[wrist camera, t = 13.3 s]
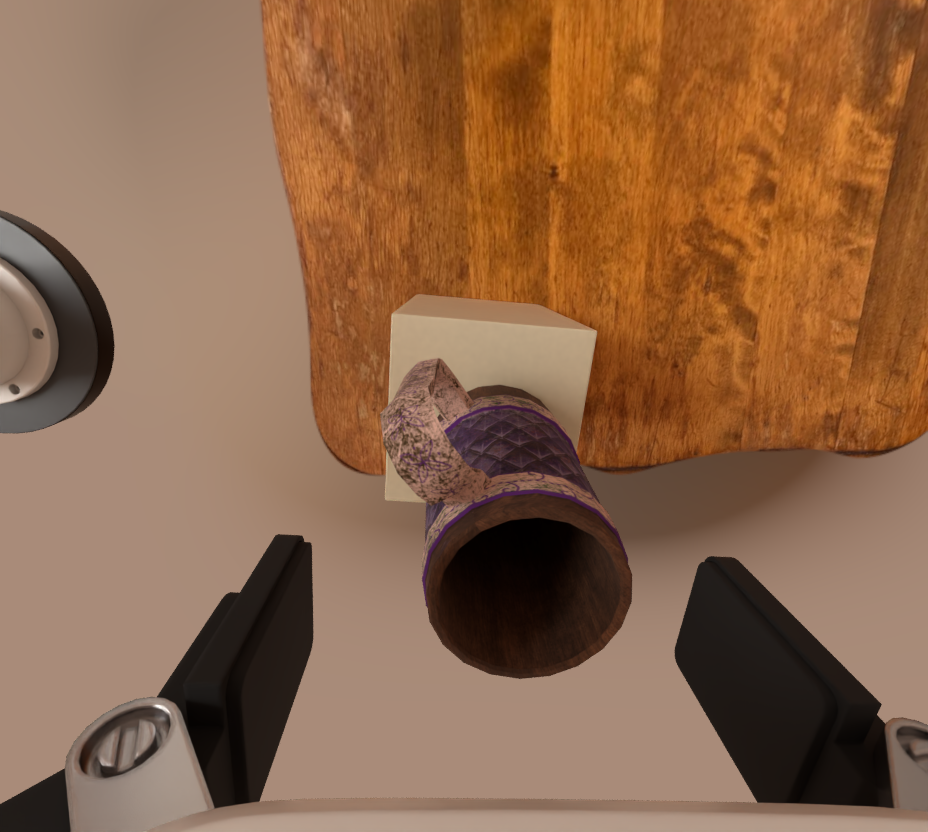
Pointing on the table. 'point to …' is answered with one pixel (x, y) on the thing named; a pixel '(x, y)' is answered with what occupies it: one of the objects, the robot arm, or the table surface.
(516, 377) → the block
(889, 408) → the table surface
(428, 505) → the mug
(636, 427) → the table surface
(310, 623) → the robot arm
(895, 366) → the table surface
